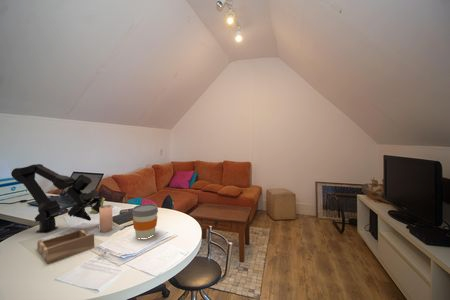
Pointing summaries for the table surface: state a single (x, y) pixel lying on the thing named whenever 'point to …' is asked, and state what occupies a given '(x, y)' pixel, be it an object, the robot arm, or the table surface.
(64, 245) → the open wooden box
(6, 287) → the table surface
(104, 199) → the plant pot
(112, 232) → the grey mat
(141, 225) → the reusable coffee cup
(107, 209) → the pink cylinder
